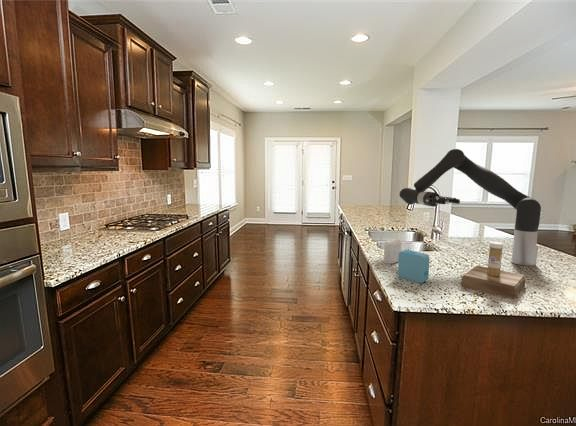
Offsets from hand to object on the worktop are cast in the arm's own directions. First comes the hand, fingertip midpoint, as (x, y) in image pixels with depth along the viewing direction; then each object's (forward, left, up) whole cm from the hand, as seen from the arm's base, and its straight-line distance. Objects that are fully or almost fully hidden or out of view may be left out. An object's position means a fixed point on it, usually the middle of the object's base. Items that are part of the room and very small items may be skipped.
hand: (452, 201), depth 149 cm
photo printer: (+25, -7, -32) cm, 42 cm away
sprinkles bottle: (-3, +28, -27) cm, 39 cm away
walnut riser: (-4, +28, -32) cm, 43 cm away
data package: (+25, +18, -32) cm, 45 cm away
